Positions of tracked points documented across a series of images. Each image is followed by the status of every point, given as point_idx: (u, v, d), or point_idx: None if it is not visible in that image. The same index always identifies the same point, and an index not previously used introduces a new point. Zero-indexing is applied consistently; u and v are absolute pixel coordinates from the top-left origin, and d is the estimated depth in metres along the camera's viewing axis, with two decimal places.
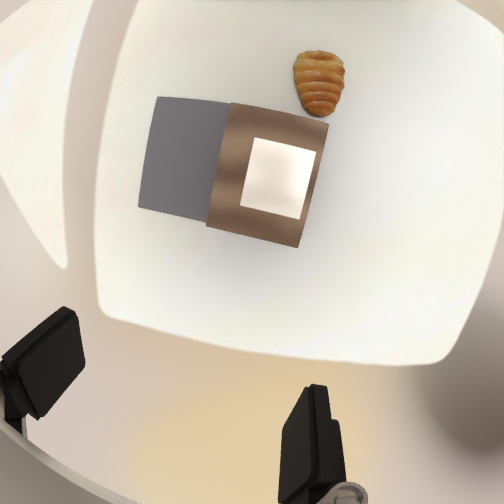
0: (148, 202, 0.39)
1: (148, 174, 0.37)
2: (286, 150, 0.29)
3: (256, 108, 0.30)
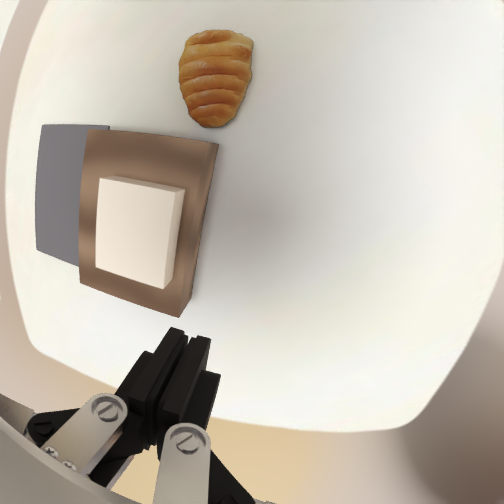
0: (43, 245, 0.29)
1: (39, 215, 0.28)
2: (136, 193, 0.19)
3: (113, 132, 0.20)
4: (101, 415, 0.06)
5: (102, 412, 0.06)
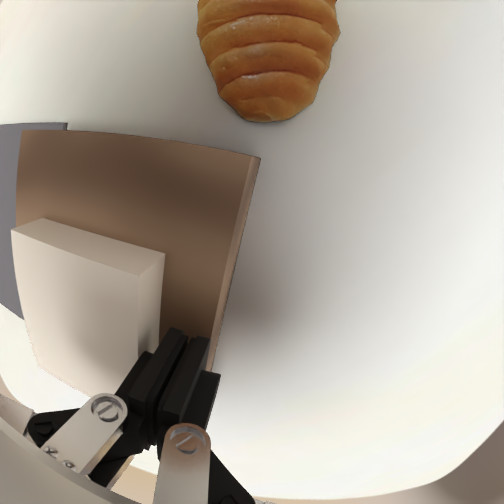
0: None
1: None
2: (65, 267, 0.08)
3: (57, 134, 0.09)
4: (101, 415, 0.06)
5: (102, 412, 0.06)
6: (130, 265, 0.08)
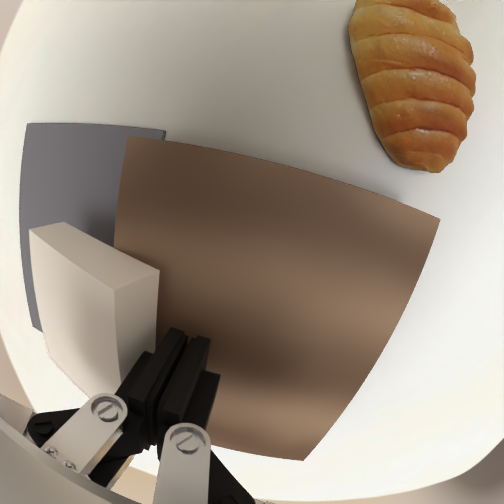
0: None
1: (30, 279, 0.16)
2: (63, 271, 0.09)
3: (206, 153, 0.09)
4: (101, 415, 0.06)
5: (102, 412, 0.06)
6: (113, 278, 0.08)
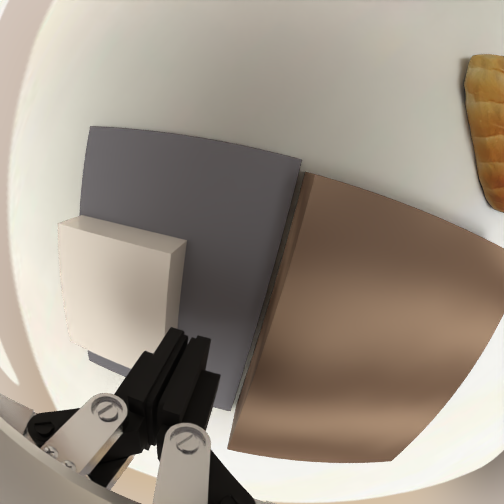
0: (104, 359, 0.17)
1: None
2: None
3: (398, 207, 0.09)
4: (101, 415, 0.06)
5: (102, 412, 0.06)
6: (83, 218, 0.13)
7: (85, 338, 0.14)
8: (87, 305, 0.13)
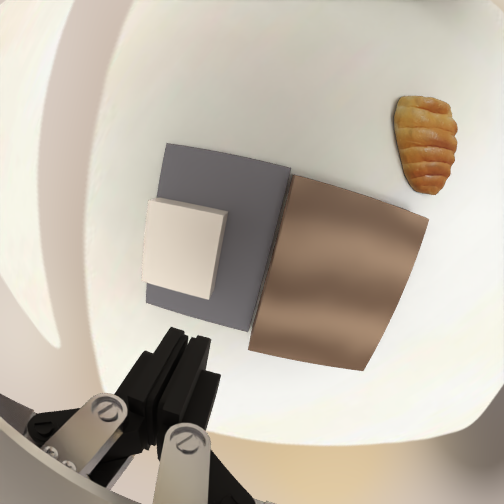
0: (159, 298, 0.28)
1: None
2: None
3: (335, 189, 0.20)
4: (102, 415, 0.06)
5: (102, 412, 0.06)
6: (161, 198, 0.25)
7: (155, 276, 0.25)
8: (163, 251, 0.24)
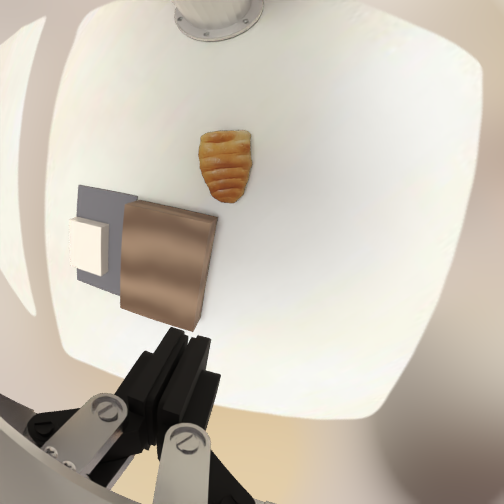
0: (83, 277, 0.42)
1: None
2: None
3: (145, 210, 0.33)
4: (102, 415, 0.06)
5: (102, 412, 0.06)
6: (77, 217, 0.38)
7: (76, 262, 0.38)
8: (78, 247, 0.38)
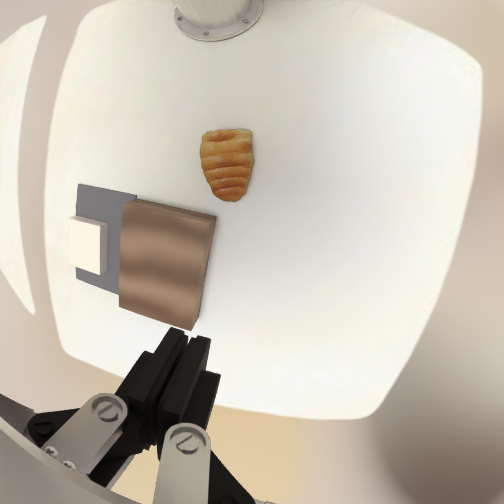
0: (82, 276, 0.42)
1: None
2: None
3: (143, 209, 0.33)
4: (101, 415, 0.06)
5: (102, 412, 0.06)
6: (77, 216, 0.38)
7: (75, 261, 0.38)
8: (77, 246, 0.38)
